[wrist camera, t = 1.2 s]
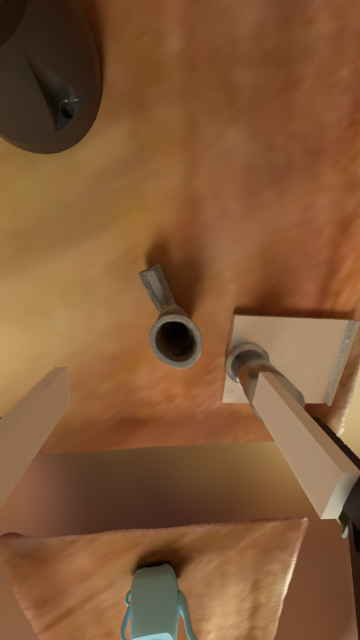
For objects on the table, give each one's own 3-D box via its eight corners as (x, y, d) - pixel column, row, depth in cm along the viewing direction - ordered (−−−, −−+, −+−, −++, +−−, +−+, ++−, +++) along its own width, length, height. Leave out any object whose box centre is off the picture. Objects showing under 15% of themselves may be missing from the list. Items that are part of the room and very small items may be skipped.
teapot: (197, 578, 51) (205, 664, 40) (132, 590, 51) (122, 679, 40) (192, 552, 48) (200, 639, 37) (122, 565, 47) (108, 656, 36)
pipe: (168, 259, 27) (168, 257, 19) (200, 335, 30) (212, 359, 23) (129, 276, 27) (114, 282, 19) (166, 349, 31) (166, 378, 23)
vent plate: (228, 313, 29) (263, 341, 19) (350, 318, 31) (446, 347, 20) (217, 398, 34) (239, 460, 23) (323, 398, 36) (390, 457, 25)
